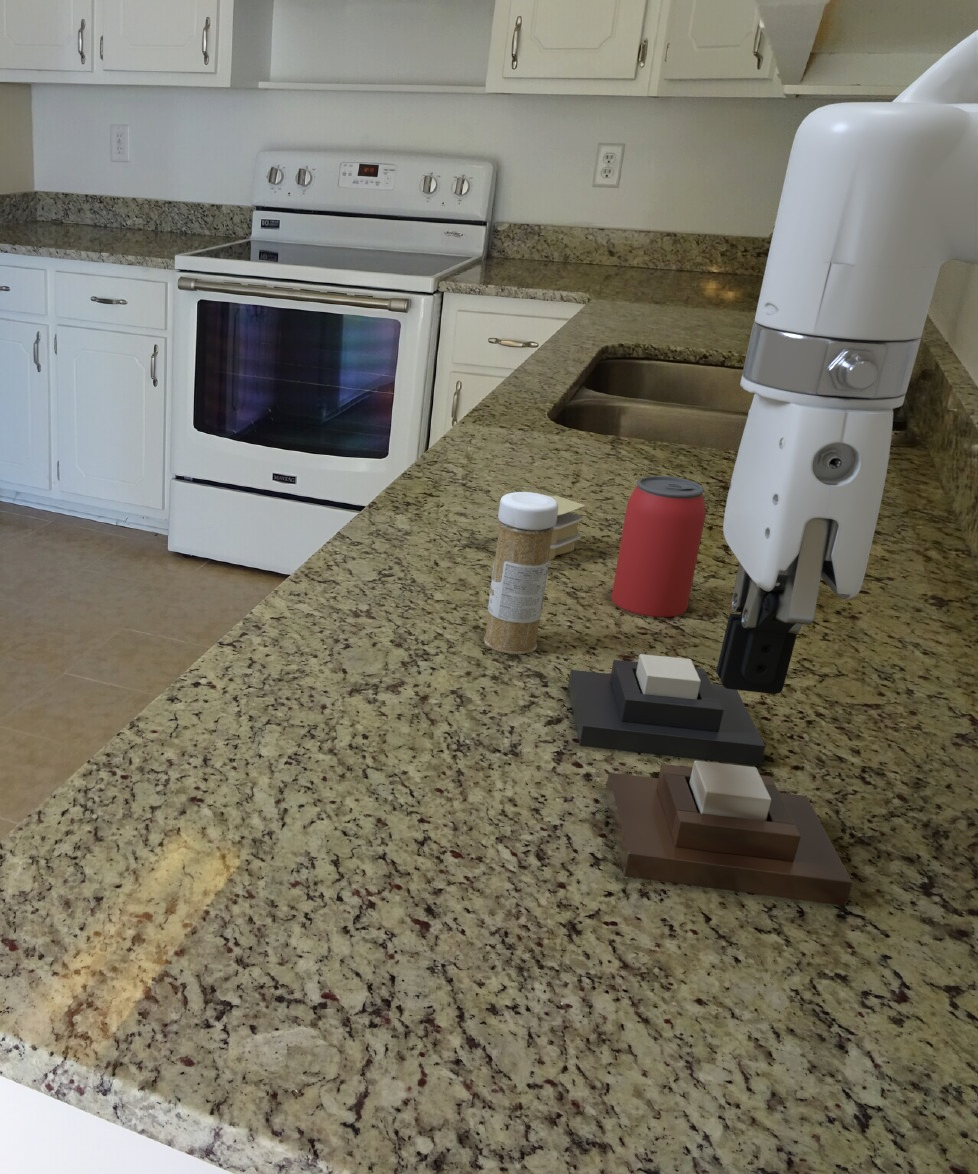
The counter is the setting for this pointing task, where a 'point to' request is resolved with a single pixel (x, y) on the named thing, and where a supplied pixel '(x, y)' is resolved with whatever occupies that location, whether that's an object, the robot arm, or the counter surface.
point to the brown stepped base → (723, 841)
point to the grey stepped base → (662, 718)
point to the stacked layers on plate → (565, 527)
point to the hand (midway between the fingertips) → (747, 684)
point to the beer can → (659, 546)
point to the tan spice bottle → (520, 571)
